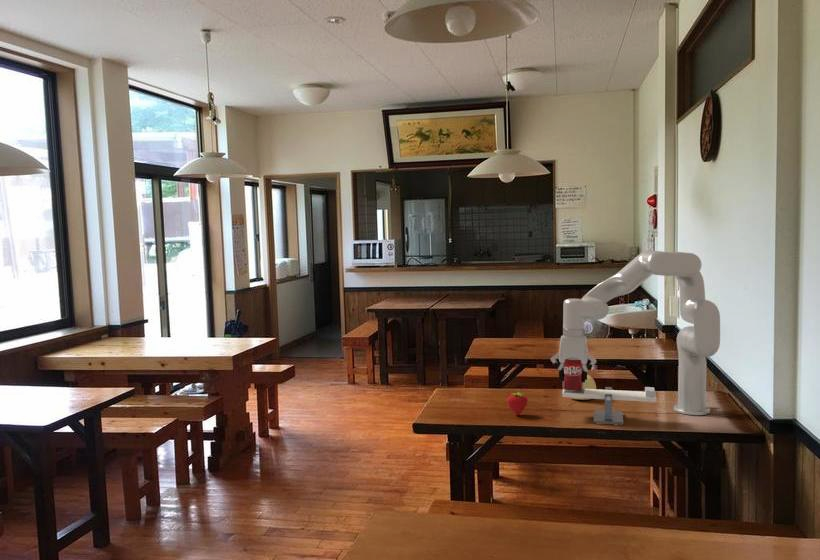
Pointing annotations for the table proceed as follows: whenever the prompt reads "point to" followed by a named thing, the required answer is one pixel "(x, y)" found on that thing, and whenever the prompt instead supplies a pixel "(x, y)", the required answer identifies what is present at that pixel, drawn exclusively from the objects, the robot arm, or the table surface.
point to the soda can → (572, 375)
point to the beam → (615, 394)
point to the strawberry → (517, 402)
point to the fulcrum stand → (608, 412)
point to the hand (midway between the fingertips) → (572, 380)
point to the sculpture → (588, 386)
